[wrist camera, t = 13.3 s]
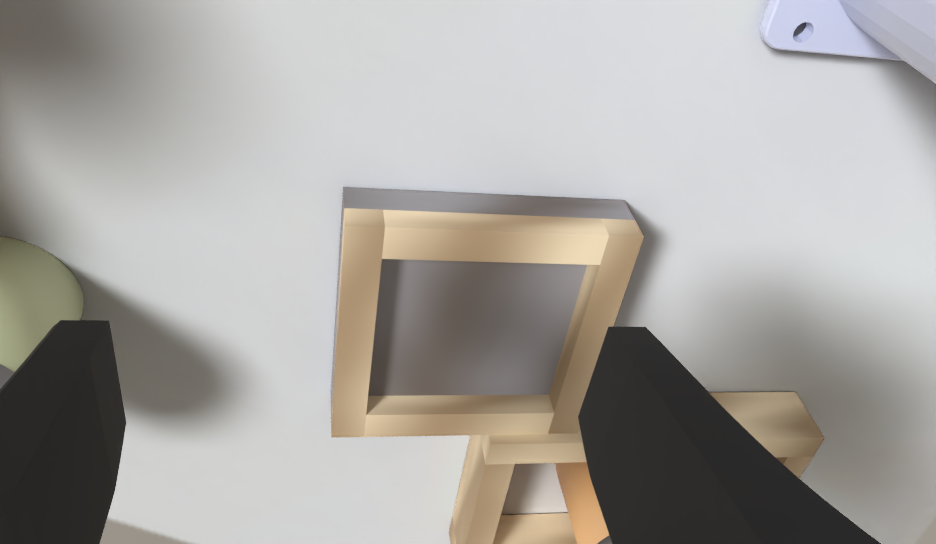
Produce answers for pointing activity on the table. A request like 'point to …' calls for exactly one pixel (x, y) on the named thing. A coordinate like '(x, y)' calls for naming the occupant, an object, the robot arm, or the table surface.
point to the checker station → (496, 338)
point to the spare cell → (31, 300)
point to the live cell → (582, 504)
